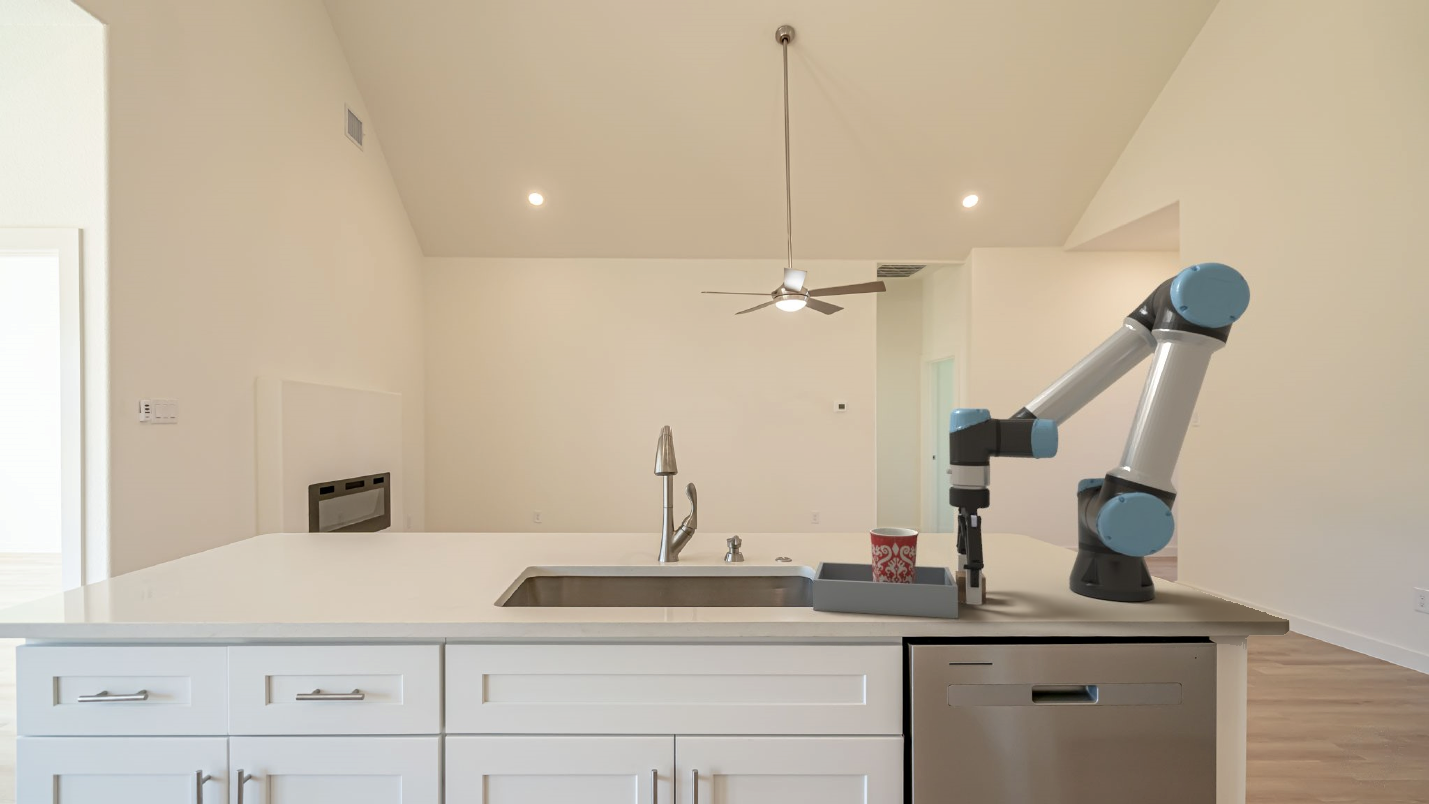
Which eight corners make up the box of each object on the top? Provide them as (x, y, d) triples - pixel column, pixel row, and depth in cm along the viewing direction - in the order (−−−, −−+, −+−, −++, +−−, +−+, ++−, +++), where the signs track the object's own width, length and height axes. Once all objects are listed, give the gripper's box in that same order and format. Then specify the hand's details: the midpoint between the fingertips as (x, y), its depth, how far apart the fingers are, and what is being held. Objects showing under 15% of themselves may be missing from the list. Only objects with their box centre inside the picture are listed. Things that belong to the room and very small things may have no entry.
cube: (982, 597, 141) (981, 572, 141) (986, 603, 136) (985, 577, 136) (955, 595, 142) (955, 570, 142) (958, 602, 137) (958, 576, 137)
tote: (948, 595, 142) (948, 567, 142) (957, 618, 126) (957, 586, 126) (820, 588, 148) (819, 561, 148) (813, 610, 132) (813, 579, 132)
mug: (922, 609, 130) (922, 535, 130) (872, 608, 131) (872, 534, 131) (911, 592, 142) (911, 525, 143) (865, 591, 143) (865, 524, 144)
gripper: (943, 480, 153) (943, 579, 152) (956, 492, 128) (956, 610, 128) (980, 481, 151) (980, 581, 151) (1000, 494, 127) (1000, 613, 126)
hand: (969, 595), depth 139 cm, fingers open, 13 cm apart
